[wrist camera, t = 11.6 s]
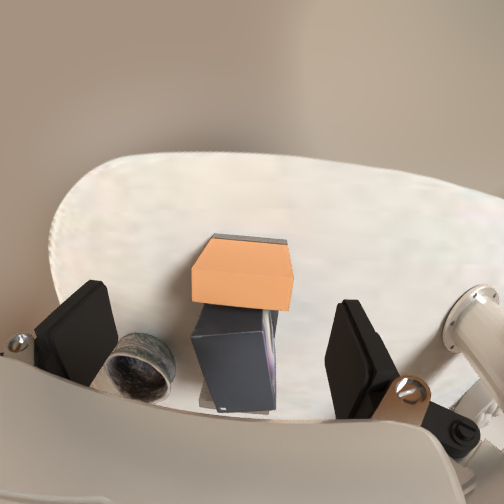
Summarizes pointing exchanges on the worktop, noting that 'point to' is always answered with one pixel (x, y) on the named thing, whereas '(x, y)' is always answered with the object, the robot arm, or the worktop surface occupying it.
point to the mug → (141, 368)
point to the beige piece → (478, 405)
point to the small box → (237, 357)
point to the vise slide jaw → (243, 275)
